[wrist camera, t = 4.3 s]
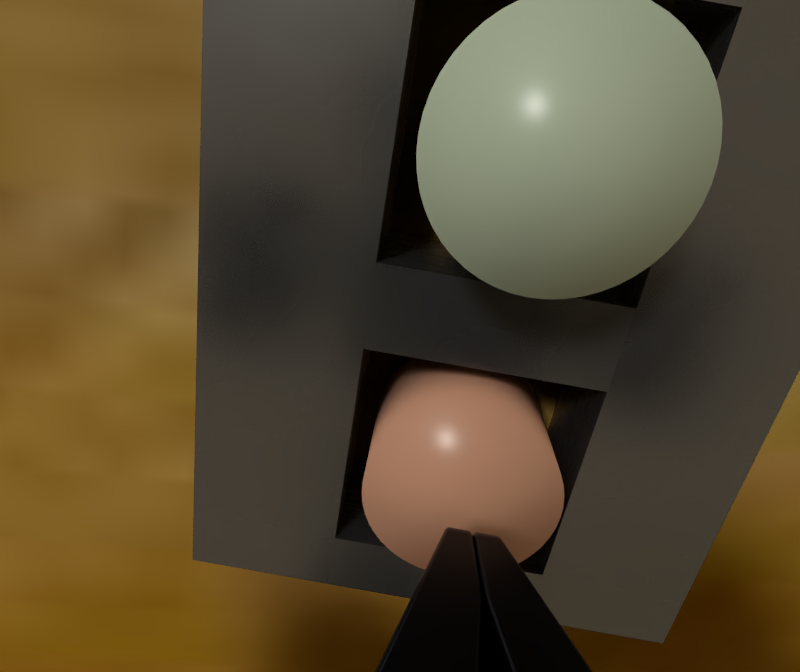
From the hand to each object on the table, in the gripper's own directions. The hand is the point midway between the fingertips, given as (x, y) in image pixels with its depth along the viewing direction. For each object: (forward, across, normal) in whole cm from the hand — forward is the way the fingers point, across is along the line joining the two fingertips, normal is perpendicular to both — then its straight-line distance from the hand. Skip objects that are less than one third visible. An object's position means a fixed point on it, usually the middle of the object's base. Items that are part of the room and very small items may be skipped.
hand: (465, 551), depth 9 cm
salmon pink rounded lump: (+4, 0, 0) cm, 4 cm away
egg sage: (+3, 0, -6) cm, 7 cm away
